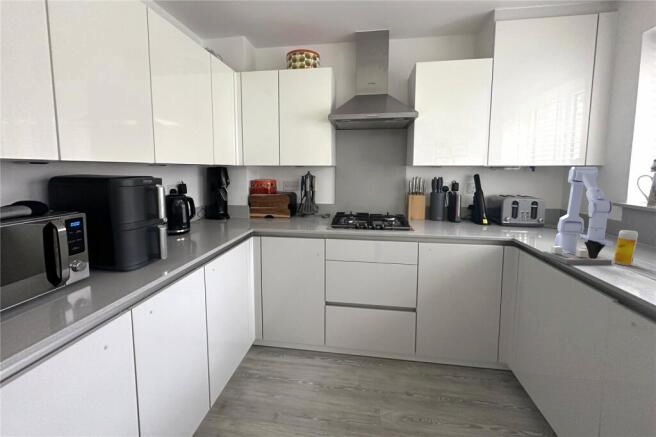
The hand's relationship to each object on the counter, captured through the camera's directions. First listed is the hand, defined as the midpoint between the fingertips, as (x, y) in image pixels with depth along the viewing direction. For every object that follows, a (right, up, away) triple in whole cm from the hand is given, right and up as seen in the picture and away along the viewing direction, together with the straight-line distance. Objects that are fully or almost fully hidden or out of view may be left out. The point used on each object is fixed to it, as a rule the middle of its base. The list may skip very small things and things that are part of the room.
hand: (592, 258), depth 134 cm
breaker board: (0, -2, +9) cm, 9 cm away
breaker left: (-7, +1, +12) cm, 14 cm away
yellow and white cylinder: (+16, -3, +3) cm, 16 cm away
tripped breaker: (0, 0, +6) cm, 6 cm away
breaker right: (+7, +1, +12) cm, 14 cm away
